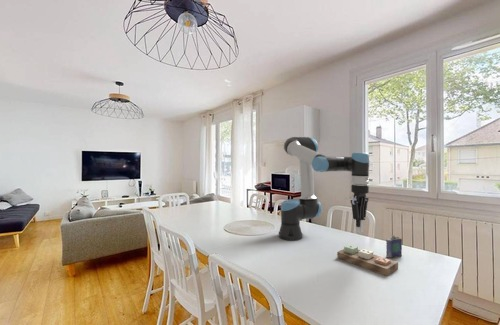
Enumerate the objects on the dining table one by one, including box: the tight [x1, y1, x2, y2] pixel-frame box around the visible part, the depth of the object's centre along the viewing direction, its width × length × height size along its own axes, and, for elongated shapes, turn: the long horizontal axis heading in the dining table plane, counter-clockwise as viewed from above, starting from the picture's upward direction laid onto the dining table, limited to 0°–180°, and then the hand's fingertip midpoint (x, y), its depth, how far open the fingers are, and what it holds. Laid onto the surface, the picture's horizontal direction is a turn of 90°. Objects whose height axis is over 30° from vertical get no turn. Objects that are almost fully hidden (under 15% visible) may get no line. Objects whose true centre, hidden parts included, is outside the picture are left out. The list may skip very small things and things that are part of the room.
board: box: [336, 248, 399, 277], centre depth 108 cm, size 23×11×3 cm, turn 36°
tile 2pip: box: [359, 248, 374, 260], centre depth 108 cm, size 4×4×3 cm
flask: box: [385, 234, 403, 259], centre depth 116 cm, size 9×3×11 cm, turn 109°
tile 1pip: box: [343, 244, 359, 254], centre depth 114 cm, size 4×4×3 cm
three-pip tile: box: [375, 256, 392, 266], centre depth 102 cm, size 4×4×3 cm
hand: (359, 233), depth 111 cm, fingers closed
